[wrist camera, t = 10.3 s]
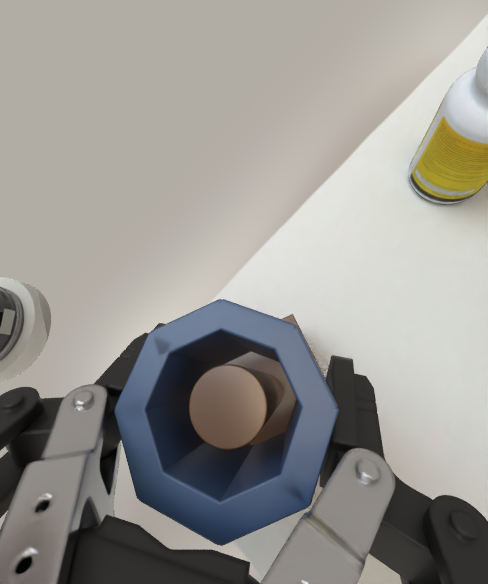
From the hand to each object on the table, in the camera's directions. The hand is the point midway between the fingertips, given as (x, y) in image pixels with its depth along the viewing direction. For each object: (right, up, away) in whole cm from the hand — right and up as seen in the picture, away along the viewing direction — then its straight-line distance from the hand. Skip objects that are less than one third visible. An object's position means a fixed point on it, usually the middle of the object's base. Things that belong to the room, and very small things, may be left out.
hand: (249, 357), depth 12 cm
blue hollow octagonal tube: (0, -3, +3) cm, 4 cm away
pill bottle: (+19, +13, +17) cm, 29 cm away
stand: (+2, -6, +14) cm, 15 cm away
